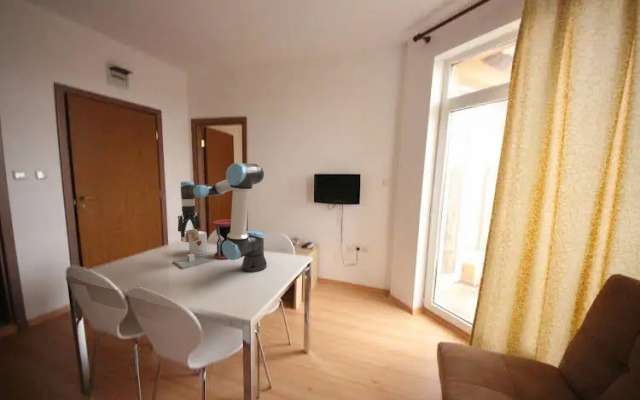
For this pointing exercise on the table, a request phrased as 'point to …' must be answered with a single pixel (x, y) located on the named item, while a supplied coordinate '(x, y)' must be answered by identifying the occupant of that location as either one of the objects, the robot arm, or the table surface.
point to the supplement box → (199, 244)
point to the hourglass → (223, 230)
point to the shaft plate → (190, 261)
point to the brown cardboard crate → (191, 236)
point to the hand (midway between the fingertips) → (190, 240)
